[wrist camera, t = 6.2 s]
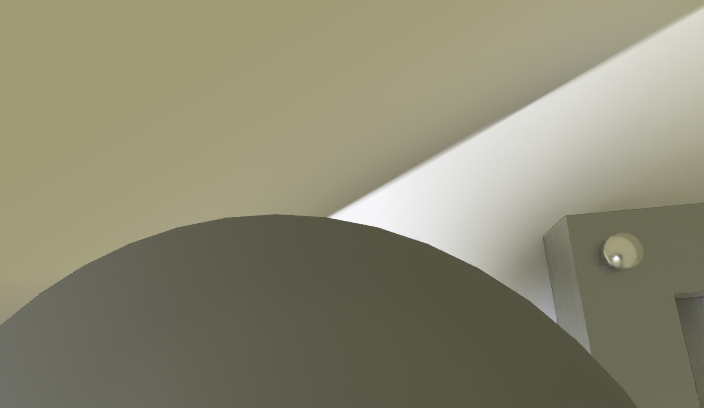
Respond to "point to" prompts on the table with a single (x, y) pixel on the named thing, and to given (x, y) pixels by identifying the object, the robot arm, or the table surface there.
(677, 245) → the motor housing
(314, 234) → the plug
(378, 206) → the table surface
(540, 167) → the table surface
